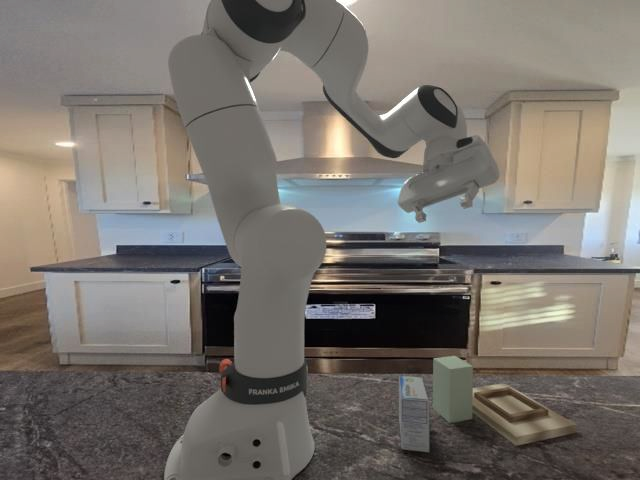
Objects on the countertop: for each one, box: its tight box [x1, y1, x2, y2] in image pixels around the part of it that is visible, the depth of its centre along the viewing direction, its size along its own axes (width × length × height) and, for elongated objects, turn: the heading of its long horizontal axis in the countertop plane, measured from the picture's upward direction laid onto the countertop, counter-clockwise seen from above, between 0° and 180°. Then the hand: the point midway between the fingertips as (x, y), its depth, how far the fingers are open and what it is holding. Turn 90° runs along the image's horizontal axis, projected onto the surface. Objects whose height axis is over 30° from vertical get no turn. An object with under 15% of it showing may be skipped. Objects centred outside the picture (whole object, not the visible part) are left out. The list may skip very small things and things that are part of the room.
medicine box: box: [398, 375, 430, 453], centre depth 53 cm, size 8×4×9 cm, turn 168°
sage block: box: [432, 355, 474, 424], centre depth 59 cm, size 5×5×10 cm
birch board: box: [472, 383, 577, 447], centre depth 59 cm, size 13×15×2 cm
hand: (442, 213), depth 60 cm, fingers open, 8 cm apart
